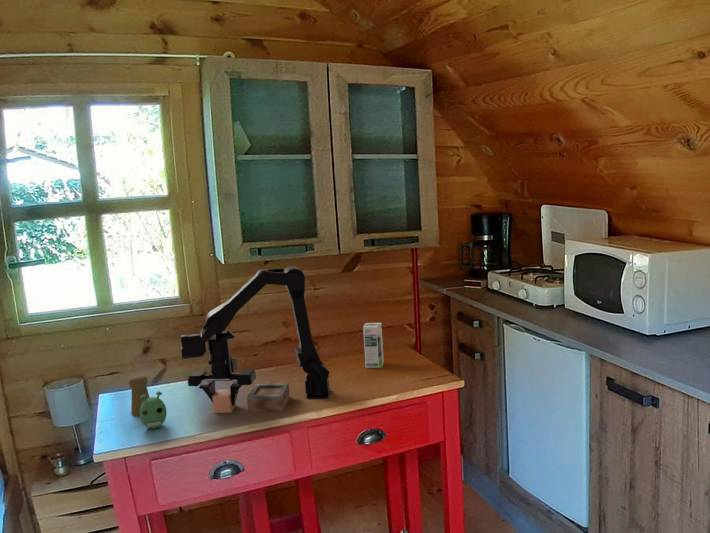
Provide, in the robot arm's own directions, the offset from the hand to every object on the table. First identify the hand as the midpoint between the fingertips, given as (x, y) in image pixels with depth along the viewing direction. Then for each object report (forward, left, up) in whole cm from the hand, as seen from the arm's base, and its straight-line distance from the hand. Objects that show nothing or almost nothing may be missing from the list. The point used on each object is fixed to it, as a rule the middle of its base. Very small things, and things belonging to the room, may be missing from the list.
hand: (224, 405), depth 174 cm
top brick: (0, 0, -1) cm, 1 cm away
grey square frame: (-12, -3, -1) cm, 13 cm away
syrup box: (-41, -35, -1) cm, 54 cm away
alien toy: (+16, +12, -1) cm, 20 cm away
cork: (+25, +1, -1) cm, 25 cm away
